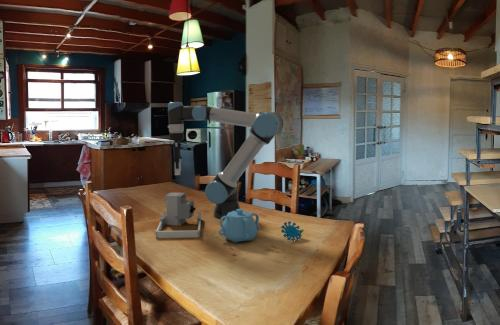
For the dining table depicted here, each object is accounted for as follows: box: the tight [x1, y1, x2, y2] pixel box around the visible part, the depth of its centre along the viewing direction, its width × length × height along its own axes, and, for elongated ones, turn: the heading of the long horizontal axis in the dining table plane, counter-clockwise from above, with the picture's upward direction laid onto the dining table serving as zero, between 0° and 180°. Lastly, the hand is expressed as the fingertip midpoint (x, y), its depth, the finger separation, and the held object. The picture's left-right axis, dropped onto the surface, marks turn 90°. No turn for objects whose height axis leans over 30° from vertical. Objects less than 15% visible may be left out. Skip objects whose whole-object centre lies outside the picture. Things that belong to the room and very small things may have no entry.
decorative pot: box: [218, 208, 260, 244], centre depth 180 cm, size 16×16×14 cm
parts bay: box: [155, 220, 202, 239], centre depth 190 cm, size 20×17×3 cm
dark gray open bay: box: [159, 211, 202, 228], centre depth 204 cm, size 20×13×4 cm, turn 96°
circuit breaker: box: [164, 191, 197, 227], centre depth 203 cm, size 8×14×15 cm, turn 78°
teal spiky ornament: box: [280, 221, 305, 242], centre depth 182 cm, size 11×6×10 cm
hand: (178, 173), depth 210 cm, fingers open, 13 cm apart
